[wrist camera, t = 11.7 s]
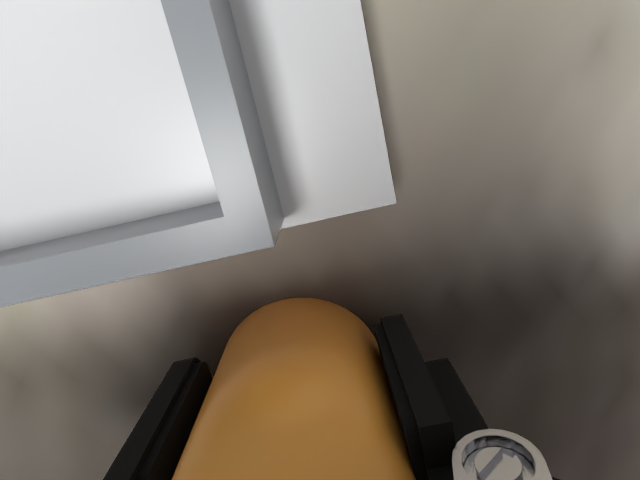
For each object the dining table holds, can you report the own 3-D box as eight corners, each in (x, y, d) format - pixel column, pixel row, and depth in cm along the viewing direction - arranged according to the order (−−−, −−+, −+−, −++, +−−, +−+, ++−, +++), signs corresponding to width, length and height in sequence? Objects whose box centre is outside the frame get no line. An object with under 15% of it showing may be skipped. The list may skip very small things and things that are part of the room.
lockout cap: (395, 422, 12) (475, 710, 6) (246, 452, 12) (181, 759, 6) (366, 281, 11) (428, 467, 5) (201, 316, 11) (70, 537, 5)
